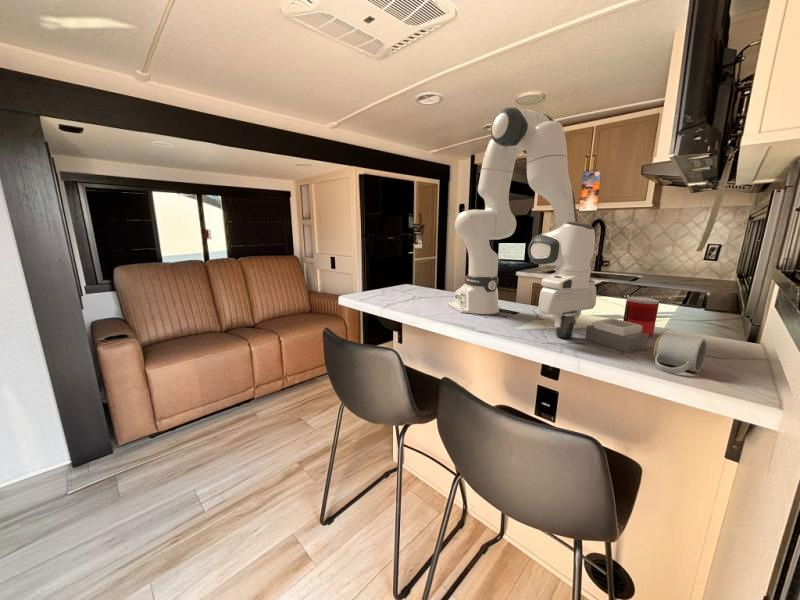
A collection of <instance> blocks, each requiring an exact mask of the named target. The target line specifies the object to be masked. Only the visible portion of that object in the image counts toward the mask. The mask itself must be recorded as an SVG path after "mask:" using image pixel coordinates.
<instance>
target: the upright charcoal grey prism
mask: <svg viewBox="0 0 800 600" xmlns="http://www.w3.org/2000/svg"><path fill="white" fill-rule="evenodd" d="M575 316H576V311H571V312H566V313H562V316H561V321H563V326H562V327H556V329H555V336H556V337H560V338H563V339H572V338H573V334H574V327H575V325H574V321H575Z"/></svg>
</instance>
